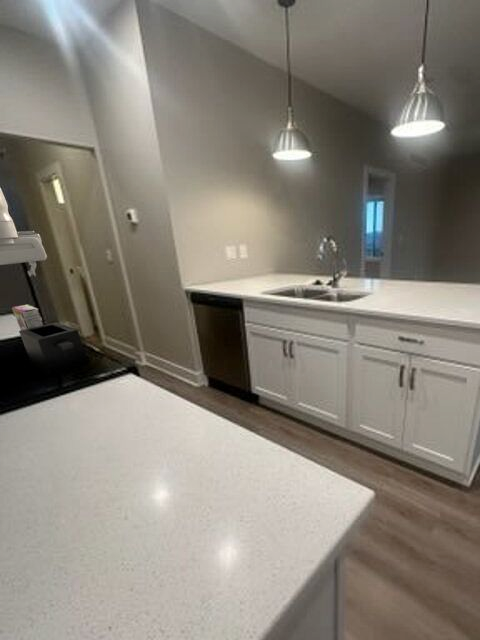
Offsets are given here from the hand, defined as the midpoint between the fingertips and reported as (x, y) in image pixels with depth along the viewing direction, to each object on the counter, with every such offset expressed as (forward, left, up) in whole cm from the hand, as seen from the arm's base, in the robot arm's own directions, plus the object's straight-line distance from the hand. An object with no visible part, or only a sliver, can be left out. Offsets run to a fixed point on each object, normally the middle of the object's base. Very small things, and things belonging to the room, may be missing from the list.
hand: (15, 278), depth 109 cm
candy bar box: (0, 0, -26) cm, 26 cm away
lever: (0, -27, -18) cm, 33 cm away
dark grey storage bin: (0, -16, -26) cm, 30 cm away
